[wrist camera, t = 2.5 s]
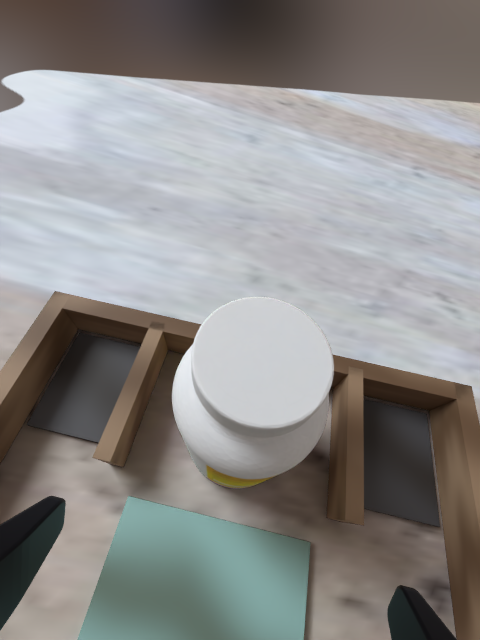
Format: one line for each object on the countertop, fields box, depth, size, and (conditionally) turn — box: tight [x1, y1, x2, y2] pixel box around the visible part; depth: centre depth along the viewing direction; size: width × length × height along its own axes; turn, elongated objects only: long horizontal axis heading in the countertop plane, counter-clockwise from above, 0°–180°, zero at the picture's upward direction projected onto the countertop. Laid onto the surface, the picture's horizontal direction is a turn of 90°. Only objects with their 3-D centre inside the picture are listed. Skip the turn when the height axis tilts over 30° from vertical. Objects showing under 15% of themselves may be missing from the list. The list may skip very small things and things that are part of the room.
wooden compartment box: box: [0, 291, 480, 640], centre depth 17 cm, size 21×30×3 cm
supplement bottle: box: [172, 297, 334, 489], centre depth 15 cm, size 7×7×13 cm
